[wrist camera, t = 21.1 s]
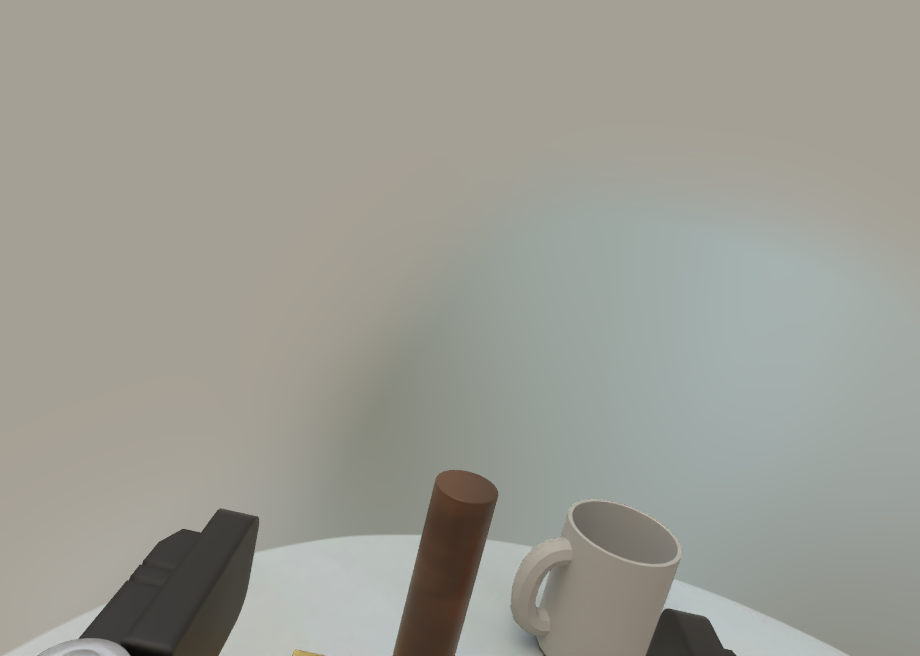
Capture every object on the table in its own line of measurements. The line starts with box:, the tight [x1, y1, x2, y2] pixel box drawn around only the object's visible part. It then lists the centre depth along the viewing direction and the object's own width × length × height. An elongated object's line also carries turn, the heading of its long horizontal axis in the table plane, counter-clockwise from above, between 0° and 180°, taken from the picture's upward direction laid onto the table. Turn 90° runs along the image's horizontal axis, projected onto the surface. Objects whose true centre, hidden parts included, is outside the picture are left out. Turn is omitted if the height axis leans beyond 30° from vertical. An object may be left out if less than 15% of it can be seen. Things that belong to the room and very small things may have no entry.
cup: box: [511, 499, 682, 656], centre depth 41 cm, size 7×10×9 cm
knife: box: [393, 470, 498, 656], centre depth 28 cm, size 3×5×15 cm, turn 178°
